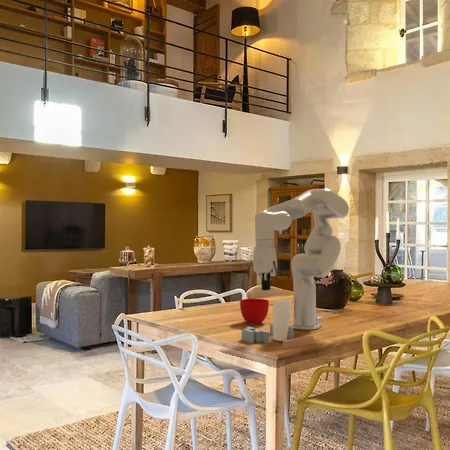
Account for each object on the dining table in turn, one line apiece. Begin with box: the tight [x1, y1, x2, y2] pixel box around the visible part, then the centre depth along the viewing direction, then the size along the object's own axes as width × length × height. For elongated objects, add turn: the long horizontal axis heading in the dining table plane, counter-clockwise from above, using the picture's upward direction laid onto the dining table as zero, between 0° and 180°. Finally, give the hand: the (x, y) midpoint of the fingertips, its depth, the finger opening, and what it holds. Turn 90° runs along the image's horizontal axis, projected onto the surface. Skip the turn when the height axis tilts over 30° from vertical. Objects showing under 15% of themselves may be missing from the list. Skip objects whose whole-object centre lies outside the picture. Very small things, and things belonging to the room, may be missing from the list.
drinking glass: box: [272, 299, 292, 342], centre depth 195 cm, size 7×7×15 cm
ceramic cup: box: [239, 298, 270, 325], centre depth 233 cm, size 13×17×10 cm
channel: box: [241, 322, 315, 349], centre depth 195 cm, size 18×23×4 cm
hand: (266, 289), depth 203 cm, fingers closed
